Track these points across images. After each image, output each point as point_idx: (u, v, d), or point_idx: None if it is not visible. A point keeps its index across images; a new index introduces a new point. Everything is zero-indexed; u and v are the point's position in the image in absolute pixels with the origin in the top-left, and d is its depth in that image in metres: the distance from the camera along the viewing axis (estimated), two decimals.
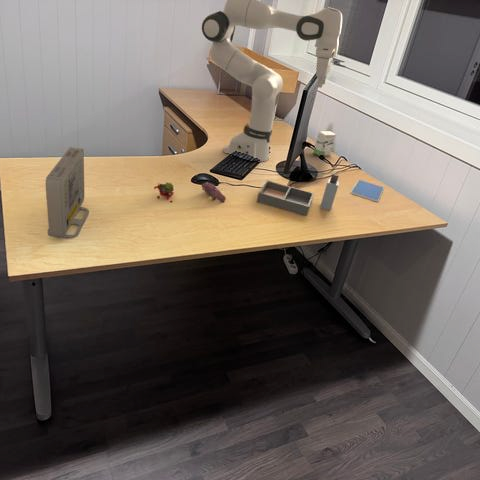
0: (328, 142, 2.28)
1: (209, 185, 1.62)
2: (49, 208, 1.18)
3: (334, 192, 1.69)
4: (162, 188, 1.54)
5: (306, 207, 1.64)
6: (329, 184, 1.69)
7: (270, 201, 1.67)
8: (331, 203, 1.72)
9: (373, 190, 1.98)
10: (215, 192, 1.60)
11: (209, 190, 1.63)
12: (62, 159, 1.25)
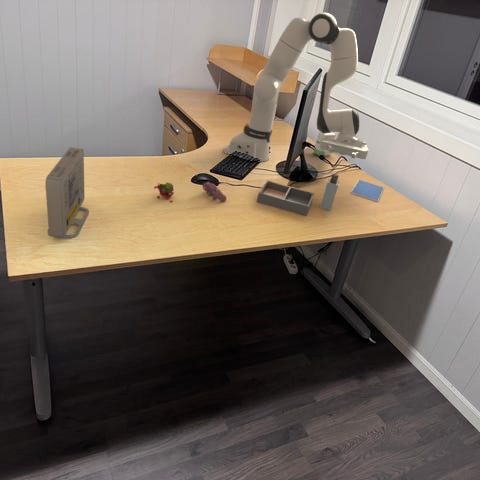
0: None
1: (210, 185, 1.62)
2: (49, 209, 1.18)
3: (334, 192, 1.69)
4: (162, 188, 1.54)
5: (306, 207, 1.64)
6: (329, 184, 1.69)
7: (270, 201, 1.67)
8: (331, 203, 1.72)
9: (373, 190, 1.98)
10: (216, 192, 1.60)
11: (210, 190, 1.63)
12: (62, 159, 1.25)
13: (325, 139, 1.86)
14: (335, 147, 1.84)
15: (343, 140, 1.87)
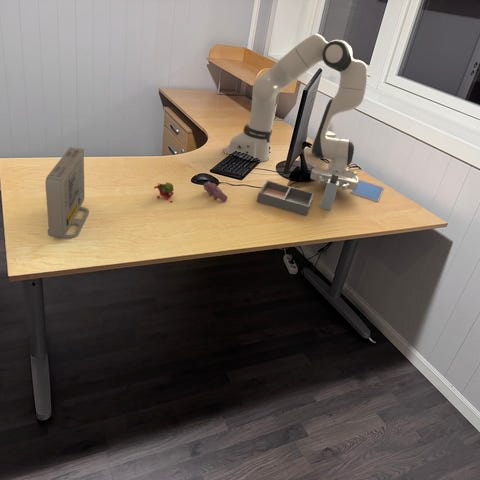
0: None
1: (211, 185, 1.62)
2: (49, 209, 1.18)
3: (334, 192, 1.69)
4: (162, 188, 1.54)
5: (306, 207, 1.64)
6: (329, 184, 1.69)
7: (270, 201, 1.67)
8: (331, 203, 1.72)
9: (373, 190, 1.98)
10: (217, 192, 1.60)
11: (211, 190, 1.63)
12: (62, 159, 1.25)
13: (316, 169, 1.87)
14: (326, 178, 1.84)
15: (334, 170, 1.87)
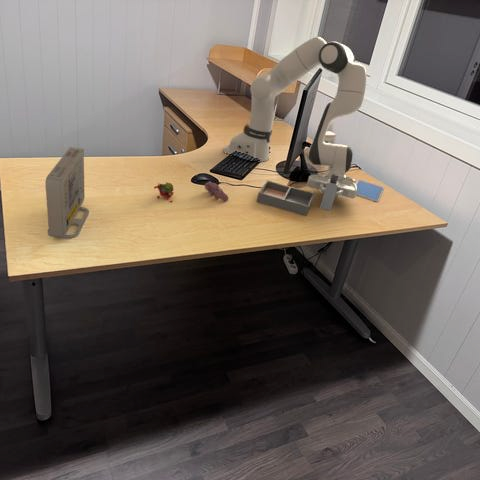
0: (328, 142, 2.28)
1: (212, 184, 1.62)
2: (49, 208, 1.18)
3: (334, 192, 1.69)
4: (162, 188, 1.54)
5: (306, 207, 1.64)
6: (329, 184, 1.69)
7: (270, 201, 1.67)
8: (331, 203, 1.72)
9: (373, 190, 1.98)
10: (218, 191, 1.61)
11: (212, 189, 1.64)
12: (62, 159, 1.25)
13: (313, 176, 1.79)
14: (323, 185, 1.76)
15: None
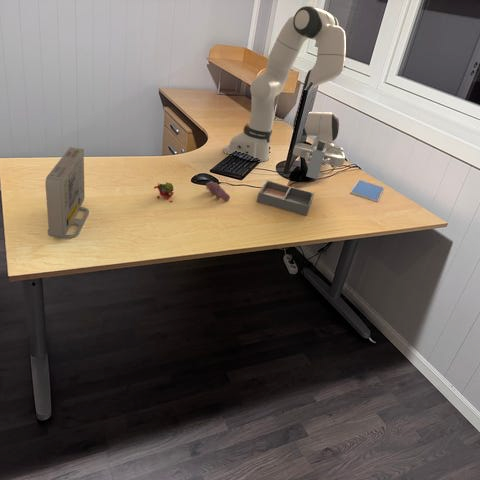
0: None
1: (213, 184, 1.63)
2: (49, 208, 1.18)
3: (321, 159, 1.63)
4: (162, 188, 1.54)
5: (306, 207, 1.64)
6: (315, 151, 1.62)
7: (270, 201, 1.67)
8: (318, 171, 1.65)
9: (373, 190, 1.98)
10: (219, 191, 1.61)
11: (213, 189, 1.64)
12: (62, 159, 1.25)
13: (299, 145, 1.72)
14: None
15: None
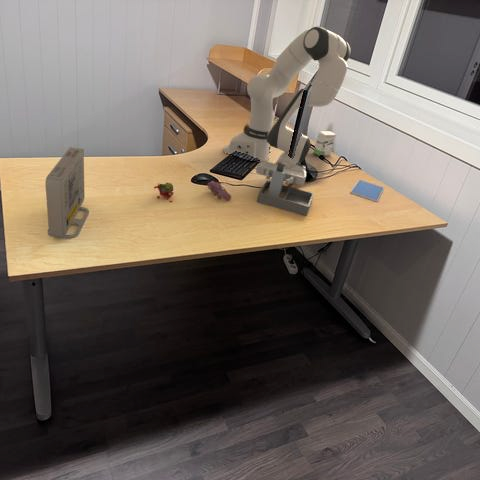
0: (328, 142, 2.28)
1: (215, 184, 1.63)
2: (49, 208, 1.18)
3: (280, 180, 1.67)
4: (162, 188, 1.54)
5: (306, 207, 1.64)
6: (275, 172, 1.66)
7: (270, 201, 1.67)
8: (278, 192, 1.70)
9: (373, 190, 1.98)
10: (221, 191, 1.62)
11: (215, 189, 1.65)
12: (62, 159, 1.25)
13: (262, 163, 1.76)
14: (272, 172, 1.74)
15: None
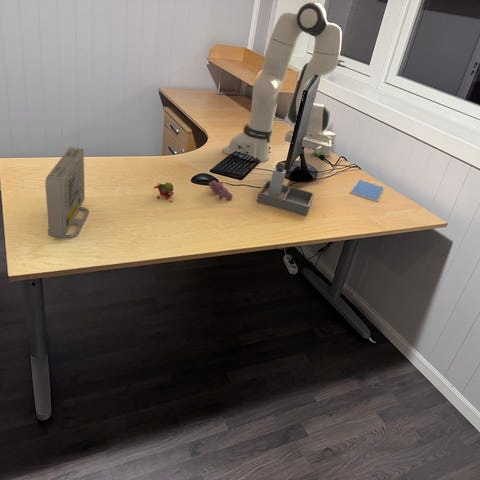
0: None
1: (216, 183, 1.64)
2: (49, 209, 1.18)
3: (280, 180, 1.67)
4: (162, 188, 1.54)
5: (306, 207, 1.64)
6: (275, 172, 1.66)
7: (270, 201, 1.67)
8: (278, 192, 1.70)
9: (373, 190, 1.98)
10: (222, 190, 1.62)
11: (216, 188, 1.65)
12: (62, 159, 1.25)
13: (291, 132, 1.88)
14: None
15: (308, 134, 1.89)
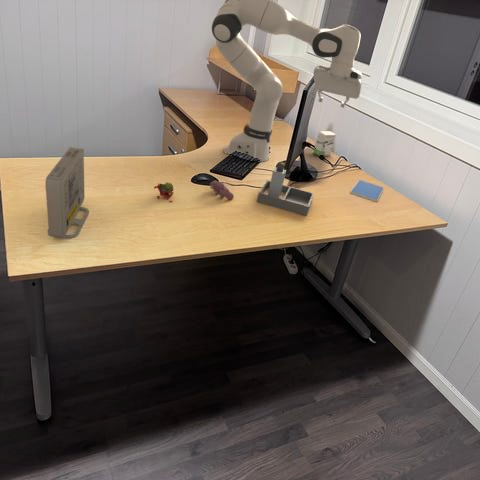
0: (328, 142, 2.28)
1: (217, 183, 1.64)
2: (49, 209, 1.18)
3: (280, 180, 1.67)
4: (162, 188, 1.54)
5: (306, 207, 1.64)
6: (275, 172, 1.66)
7: (270, 201, 1.67)
8: (278, 192, 1.70)
9: (373, 190, 1.98)
10: (223, 190, 1.62)
11: (217, 188, 1.66)
12: (62, 159, 1.25)
13: (315, 80, 1.77)
14: None
15: (335, 78, 1.74)
